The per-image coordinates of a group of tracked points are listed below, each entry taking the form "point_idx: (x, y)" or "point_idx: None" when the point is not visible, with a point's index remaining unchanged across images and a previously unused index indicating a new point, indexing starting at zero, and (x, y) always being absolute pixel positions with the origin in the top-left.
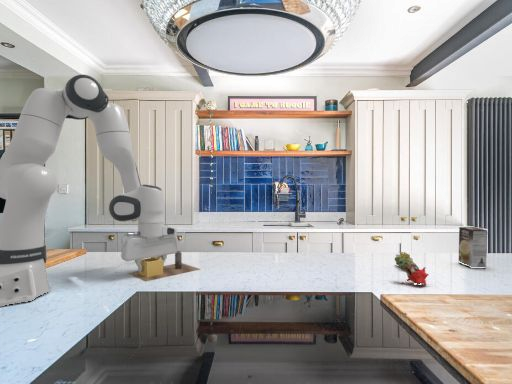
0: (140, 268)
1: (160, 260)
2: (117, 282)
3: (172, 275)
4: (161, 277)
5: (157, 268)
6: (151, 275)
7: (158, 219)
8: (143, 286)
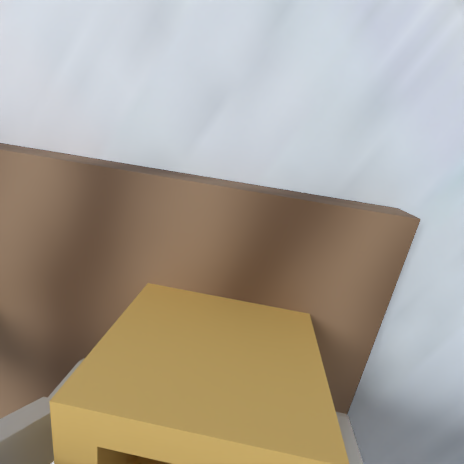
0: (355, 446)
1: (98, 410)
2: (434, 438)
3: (113, 168)
4: (229, 201)
5: (188, 335)
6: (264, 311)
7: None
8: (416, 214)
